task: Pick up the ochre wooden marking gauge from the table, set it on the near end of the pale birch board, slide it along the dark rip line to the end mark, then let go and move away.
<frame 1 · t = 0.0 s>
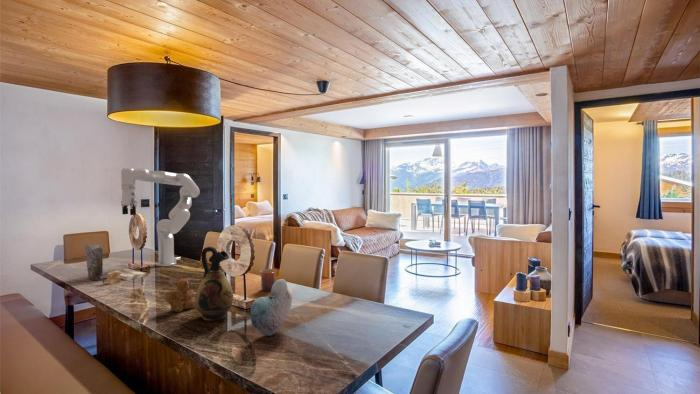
hand: (129, 214, 230), 37 cm above the table, tool pointing down, fingers open, 9 cm apart
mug: (269, 289, 194), on the table
ceramic jug: (213, 317, 154), on the table
marking gauge: (114, 282, 206), on the table
stone block: (95, 278, 214), on the table
birch board: (127, 275, 221), on the table
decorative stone: (272, 334, 137), on the table
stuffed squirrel: (181, 309, 163), on the table
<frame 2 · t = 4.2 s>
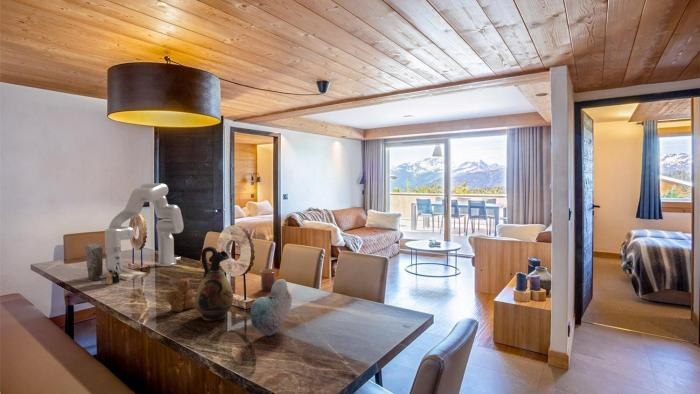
hand: (113, 281, 205), 1 cm above the table, tool pointing down, fingers closed on marking gauge, 3 cm apart
marking gauge: (113, 282, 205), on the table, touching gripper
everything else where it was.
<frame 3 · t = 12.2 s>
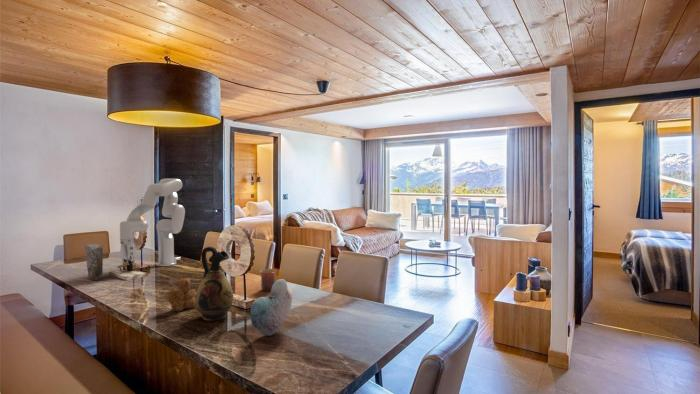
hand: (127, 270, 224), 3 cm above the table, tool pointing down, fingers closed on marking gauge, 3 cm apart
marking gauge: (131, 269, 226), point 3 cm above the table, tilted 15°, touching gripper
everything else where it was.
when the fingers open (3 cm above the table, at t = 14.6 s): marking gauge stays where it is, resting on birch board.
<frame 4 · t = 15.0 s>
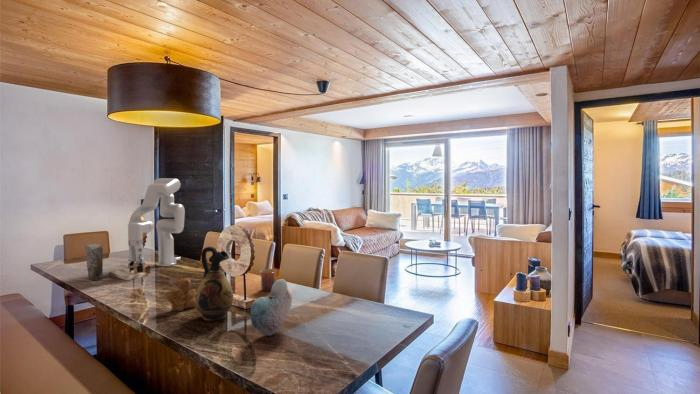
hand: (136, 271, 219), 3 cm above the table, tool pointing down, fingers open, 8 cm apart
marking gauge: (139, 272, 221), point 2 cm above the table, touching birch board
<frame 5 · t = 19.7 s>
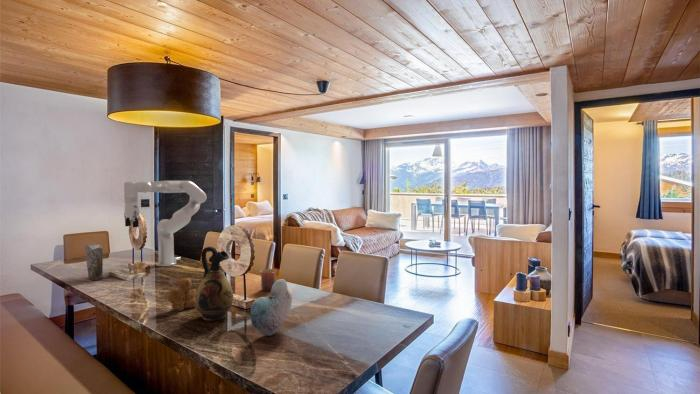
hand: (131, 226, 236), 28 cm above the table, tool pointing down, fingers open, 9 cm apart
at the end: marking gauge 2.0 cm from the target spot on the birch board, point 2.0 cm above the birch board's base; marking gauge tilted 0°; the gripper is holding nothing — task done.
